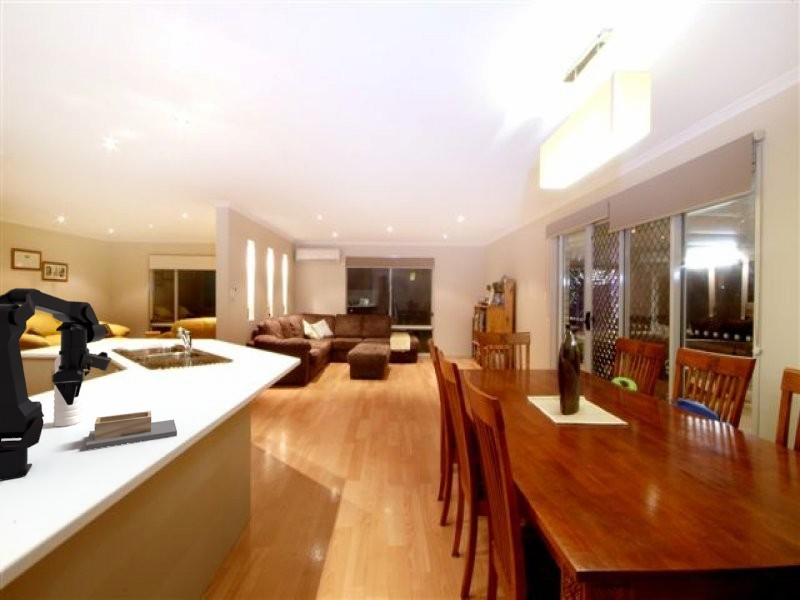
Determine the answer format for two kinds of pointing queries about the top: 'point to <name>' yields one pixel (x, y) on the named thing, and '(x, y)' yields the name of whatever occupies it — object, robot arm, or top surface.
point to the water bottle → (65, 406)
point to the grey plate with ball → (135, 435)
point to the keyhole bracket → (122, 425)
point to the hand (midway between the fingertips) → (73, 400)
